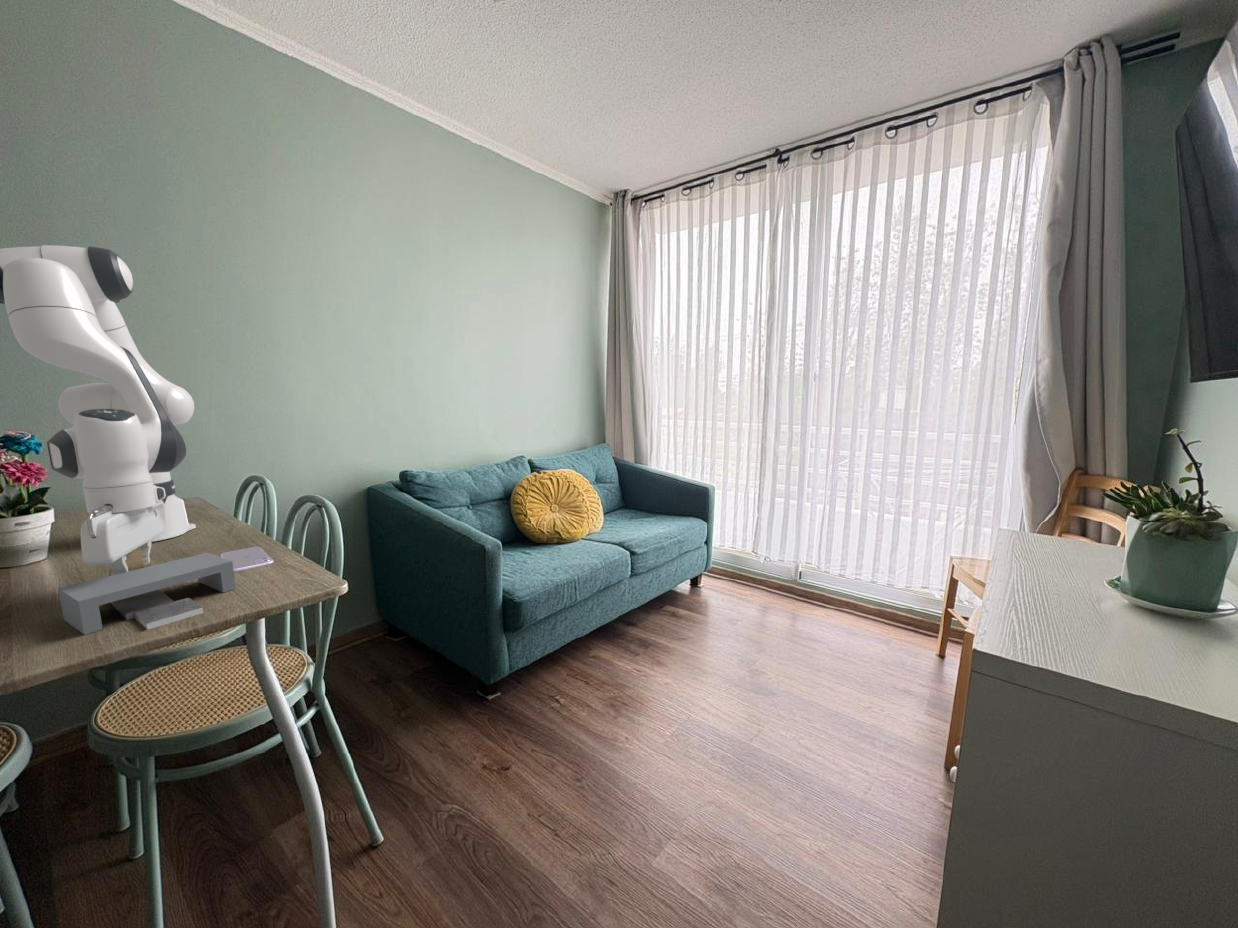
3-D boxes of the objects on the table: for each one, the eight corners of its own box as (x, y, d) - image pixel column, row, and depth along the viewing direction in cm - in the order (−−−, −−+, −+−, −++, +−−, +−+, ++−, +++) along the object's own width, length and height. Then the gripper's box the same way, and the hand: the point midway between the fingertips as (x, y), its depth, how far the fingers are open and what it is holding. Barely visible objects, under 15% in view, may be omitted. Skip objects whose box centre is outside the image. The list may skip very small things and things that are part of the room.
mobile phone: (259, 544, 116) (274, 560, 105) (259, 548, 116) (275, 564, 106) (218, 552, 110) (230, 569, 100) (219, 556, 110) (231, 573, 100)
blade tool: (104, 596, 88) (96, 549, 87) (149, 585, 93) (141, 541, 92) (126, 620, 79) (118, 568, 78) (174, 606, 84) (167, 557, 83)
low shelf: (63, 619, 79) (58, 588, 78) (211, 578, 97) (208, 552, 96) (84, 634, 74) (78, 601, 74) (235, 588, 92) (232, 561, 91)
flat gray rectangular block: (135, 621, 80) (134, 612, 80) (189, 605, 86) (188, 597, 86) (147, 632, 76) (146, 623, 76) (203, 615, 82) (202, 607, 82)
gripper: (112, 510, 79) (125, 590, 81) (169, 487, 98) (178, 552, 100) (59, 514, 77) (74, 596, 79) (128, 489, 95) (138, 556, 97)
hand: (133, 571), depth 89 cm, fingers open, 5 cm apart
